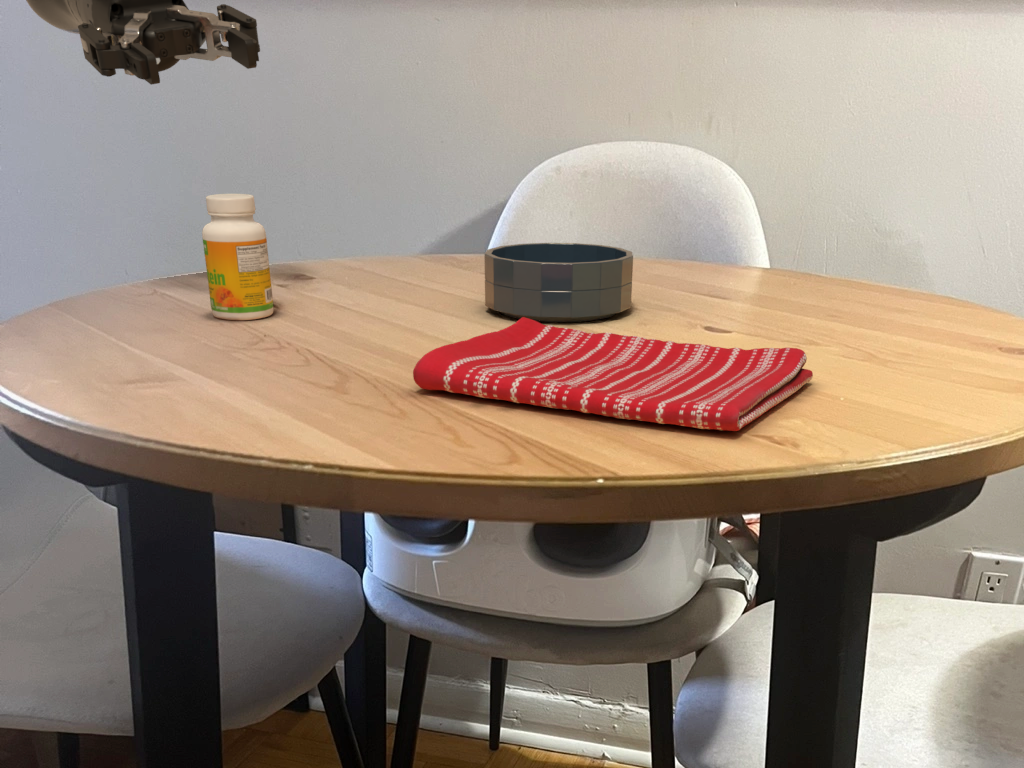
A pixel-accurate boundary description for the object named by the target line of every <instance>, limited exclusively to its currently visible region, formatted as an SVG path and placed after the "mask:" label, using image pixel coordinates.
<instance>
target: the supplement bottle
mask: <svg viewBox="0 0 1024 768" xmlns="http://www.w3.org/2000/svg"><path fill="white" fill-rule="evenodd" d="M205 202H206V211H207V215H209V216H210V222H208V223H207V224H205V225H204V226H203V227H202V229H201V236H202V245H203V254H204V260H205V268H206V278H207V283H208V292H209V300H210V301H209V302H210V308H211V314H212V315H213V317H215V318H217V319H220V320H221V319H222V320H230V321H251V320H259V319H264V318H267V317H270V316H272V315H273V314H274V300H273V298H274V297H273V289H272V278H271V269H270V260H269V259H270V258H269V250H268V240H267V239H268V238H267V232H266V229H265V227H264V225H262V224H261V223H260V222H258V221H256V220H254V215H255V214H256V203H255V196H254V195H253V194H248V193H216V194H209V195H206V197H205Z"/></svg>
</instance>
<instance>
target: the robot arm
mask: <svg viewBox="0 0 1024 768" xmlns="http://www.w3.org/2000/svg"><path fill="white" fill-rule="evenodd" d="M26 3H27V4H28V6H29V7H30V8H31V10H32V11H33V13H35V14H36V15H37V17H39V18H40V19H42V20H43V21H44V22H46V23H47V24H49V25H51V26H52V27H55V28H57V29H59V30H61V31H64V32H66V33H70V34H76V35H79V38H80V42H81V47H82V51H83V56H84V59H85V60H86V61H87V62H88V63H89V64H90V65H91V66H92V67H93V68H94V69H95V70H96V71H97V72H98V73H99V74H100V75H101V76H103V77H108V78H109V77H113V76H115V75H116V74H117V72H116V71H117V70H123V71H124V74H125V75H128V76H135V77H136V78H137V79H139V80H143V81H145V82H147V83H148V84H149V85H156V84H160V83H161V79H160V78H161V77H160V73H161V72H164V71H167V70H169V69H171V68H172V67H174V66H175V65H176V64H177V63H178V62H179V61H187V60H189V59H196V60H203V61H208V62H209V61H210V62H215V61H216V60H218V59H219V58H221V57H227V58H231V59H232V60H233V61H235V62H236V63H238V64H239V65H241V66H243V67H244V68H245V69H247V70H249V69H256V68H257V67H258V65H257V64H258V63H257V62H260V59H259V53H260V52H261V46H260V42H259V35H258V23H257V19H256V18H254V17H252V16H250V15H248V14H246V13H245V12H242V11H241V10H238V9H237V8H235V7H233V6H231V5H228V4H225V3H222V4H219V5H217V6H216V13H217V15H216V14H215V13H213V12H205V11H200V10H199V11H198V10H193V9H192V10H191V9H189V7H188V6H187V4H186V3H185V1H184V0H26ZM205 42H206V43H205ZM222 42H223V43H227V45H228V46H227V45H223V44H222ZM204 43H205V44H206V48H202V46H203V45H204Z"/></svg>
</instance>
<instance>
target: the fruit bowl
mask: <svg viewBox="0 0 1024 768" xmlns="http://www.w3.org/2000/svg"><path fill="white" fill-rule="evenodd" d="M633 265H634V254H633V251H631V250H628V249H625V248H622V247H617V246H610V245H603V244H593V243H581V242H580V243H577V242H532V243H516V244H507V245H500V246H496V247H492V248H487V249H486V251H485V253H484V305H485V306H486V307H488V308H489V309H491V310H492V311H495V312H498V313H500V314H502V315H503V316H506V317H508V318H513V319H518V320H519V319H521V318H522V317H525V318H528V319H532V320H534V321H537V322H540V323H541V322H542V323H543V322H544V323H581V322H592V321H599V320H603V319H607V318H611V317H614V316H616V314H619V313H622V312H624V311H626V310H629V309H631V308H632V296H633V295H632V293H633V292H632V291H633V290H632V289H633V274H634V273H633V270H634V269H633V268H634V266H633Z"/></svg>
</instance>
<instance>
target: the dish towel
mask: <svg viewBox="0 0 1024 768" xmlns="http://www.w3.org/2000/svg"><path fill="white" fill-rule="evenodd" d="M807 359H808V358H807V354H806V353H805V350H803V349H801V348H798V347H782V348H780V347H779V348H778V347H762V348H751V349H743V348H741V347H731V348H726V347H721V346H712V345H708V344H701V343H690V342H685V343H684V342H683V343H682V342H681V343H680V342H675V341H672V340H666V341H665V340H661V339H655V338H649V339H648V338H646V337H641V336H638V335H626V334H625V335H624V334H623V335H622V334H617V333H613V332H599V333H595V332H587V331H583V330H581V329H576V328H570V327H558V326H554V325H552V324H548V325H547V324H546V325H545V324H543V323H541V322H540V321H534V320H532V319H528V318H525V317H522V318H521V319H518V320H517V321H516V322H515V323H513V324H511V325H509V326H507V327H504V328H503V329H500V330H497V331H491V332H487V333H483V334H480V335H477V336H474V337H471V338H469V339H466V340H459V341H456V342H454V343H449V344H444V345H442V346H438V347H436V348H434V349H432V350H430V351H428V352H426V353H425V354H424V355H423V356H422V357H421V358H420V359H419V360H418V361H417V362H416V364H415V365H414V368H413V371H412V376H413V377H412V378H413V381H414V382H415V383H414V384H416V385H417V386H418V387H419V388H420V389H423V390H427V391H445V392H448V393H452V394H463V395H467V396H471V397H472V396H473V397H477V398H483V399H489V400H490V399H491V400H498V401H499V400H500V401H508V402H512V403H516V404H527V405H533V406H537V407H545V408H550V409H558V410H559V409H561V410H570V411H571V410H572V411H577V412H580V413H583V414H594V415H599V416H600V415H601V416H604V417H611V418H615V419H622V420H633V421H634V420H635V421H638V422H639V421H640V422H650V423H657V424H662V425H675V426H681V427H687V428H695V429H701V430H715V431H716V430H717V431H729V432H738V431H740V430H741V429H742V428H744V427H745V426H747V425H749V424H750V423H752V422H753V421H754V420H757V419H758V418H759V417H761V416H763V414H765V413H766V412H768V411H769V410H771V409H772V408H773V407H775V406H777V405H778V404H780V403H781V402H783V401H784V400H786V399H787V398H789V397H790V396H792V395H793V394H795V393H796V392H797V391H799V390H800V389H802V387H803V386H804V385H806V384H808V383H810V382H811V381H812V380H813V378H814V377H813V376H814V374H813V370H810V369H807V368H804V367H805V365H806V363H807Z"/></svg>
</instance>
